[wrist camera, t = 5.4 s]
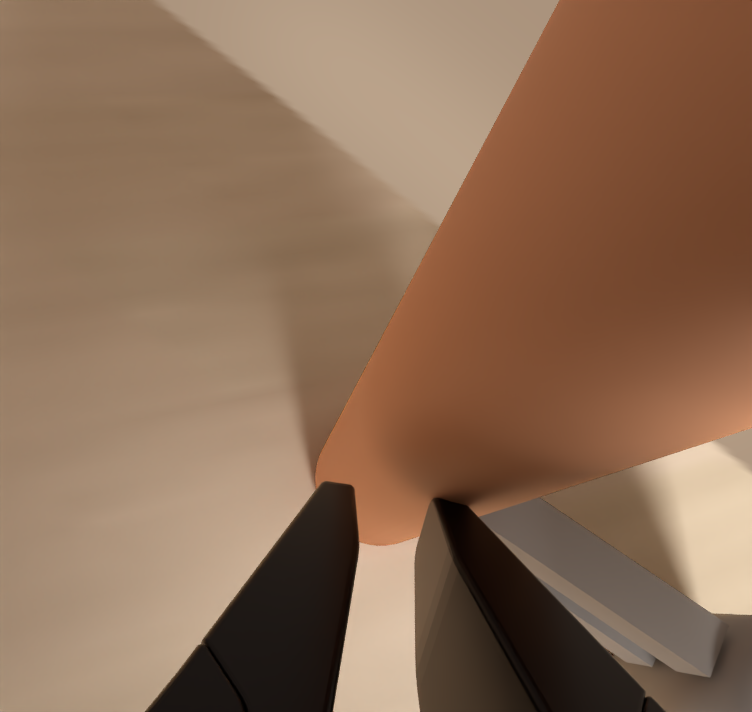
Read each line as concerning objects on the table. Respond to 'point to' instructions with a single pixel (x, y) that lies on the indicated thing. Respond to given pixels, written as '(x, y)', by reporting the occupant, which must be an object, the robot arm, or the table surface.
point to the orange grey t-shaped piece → (582, 324)
